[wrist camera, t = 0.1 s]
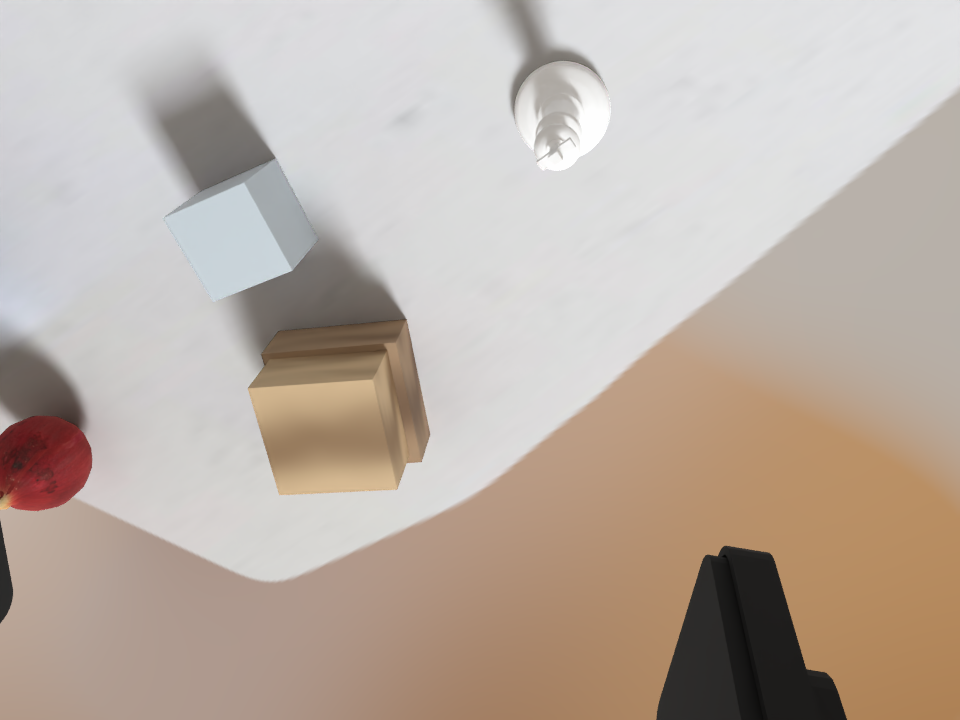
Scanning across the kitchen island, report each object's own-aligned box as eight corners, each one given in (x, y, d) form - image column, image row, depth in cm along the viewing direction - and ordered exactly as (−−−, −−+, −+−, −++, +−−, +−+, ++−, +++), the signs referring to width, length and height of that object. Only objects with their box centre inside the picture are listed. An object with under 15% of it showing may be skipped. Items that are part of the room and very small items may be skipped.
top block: (269, 359, 49) (247, 388, 46) (387, 350, 48) (372, 379, 45) (298, 461, 52) (279, 495, 49) (409, 455, 51) (397, 489, 48)
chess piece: (629, 121, 44) (639, 172, 35) (550, 177, 45) (541, 238, 37) (574, 39, 42) (570, 71, 33) (495, 100, 44) (471, 145, 35)
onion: (39, 379, 55) (-41, 446, 48) (123, 417, 56) (55, 489, 49) (22, 445, 58) (-56, 518, 51) (102, 480, 58) (36, 557, 51)
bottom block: (280, 328, 52) (261, 354, 49) (407, 316, 51) (396, 342, 48) (311, 439, 55) (295, 470, 52) (431, 431, 54) (421, 462, 51)
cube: (201, 190, 48) (162, 218, 44) (276, 157, 47) (244, 182, 42) (245, 268, 50) (212, 302, 46) (319, 238, 49) (292, 270, 44)
